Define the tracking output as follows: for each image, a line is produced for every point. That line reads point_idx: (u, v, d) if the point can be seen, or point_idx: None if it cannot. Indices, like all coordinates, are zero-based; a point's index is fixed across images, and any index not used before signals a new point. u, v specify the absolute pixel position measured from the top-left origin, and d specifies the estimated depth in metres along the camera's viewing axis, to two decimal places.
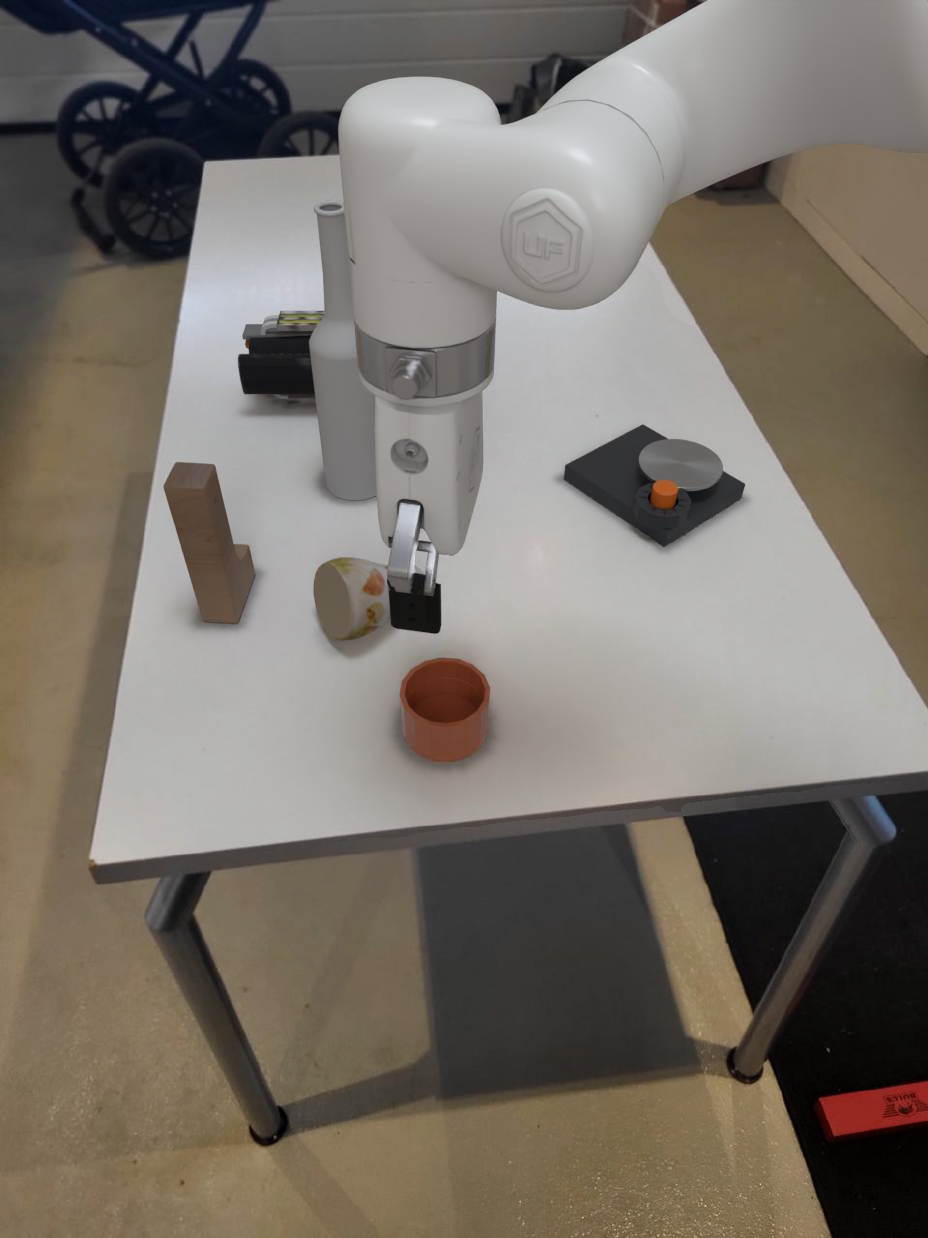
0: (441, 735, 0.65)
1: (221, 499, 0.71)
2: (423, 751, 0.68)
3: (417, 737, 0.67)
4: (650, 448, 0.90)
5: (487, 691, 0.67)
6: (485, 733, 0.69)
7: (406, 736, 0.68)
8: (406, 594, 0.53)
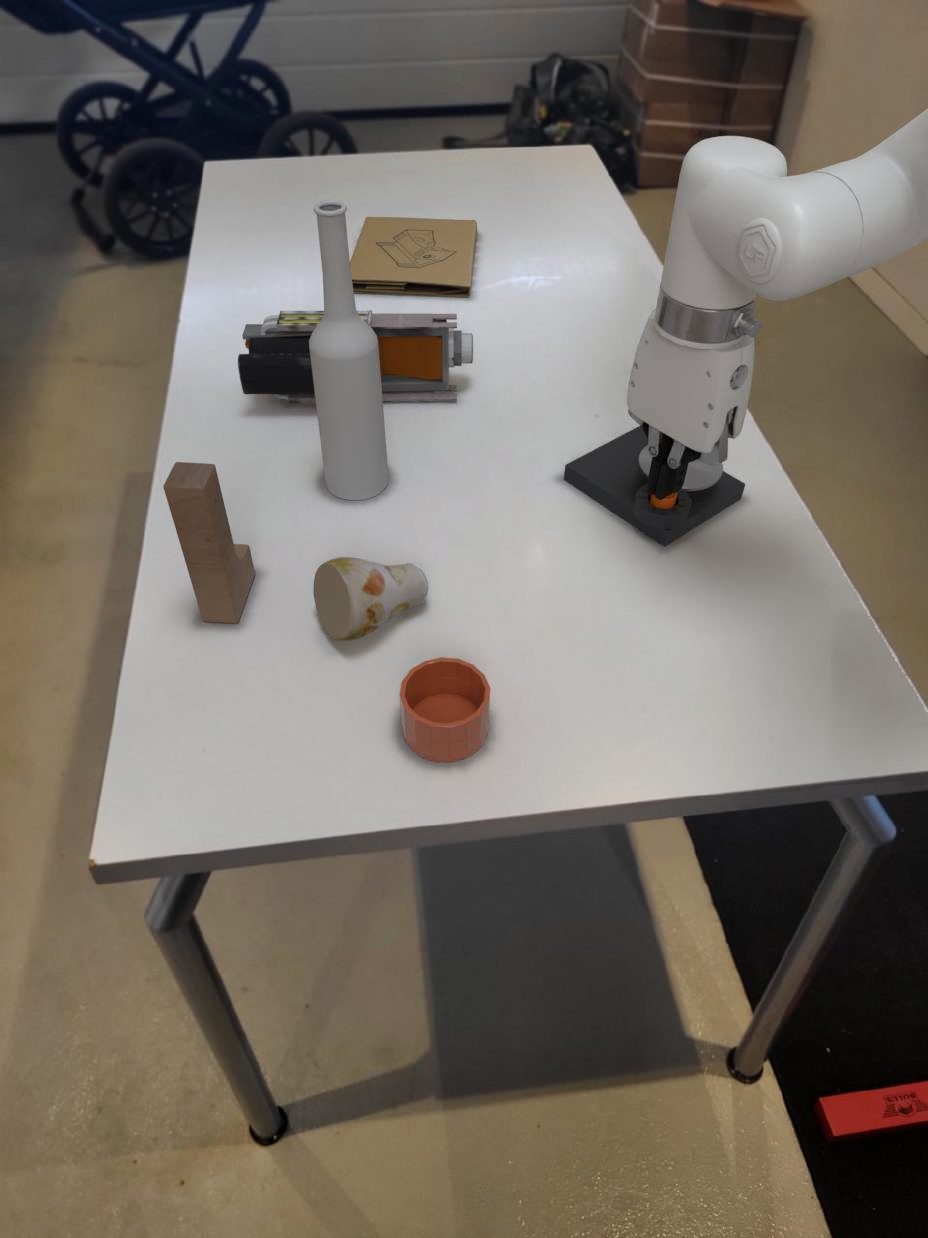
0: (441, 735, 0.65)
1: (221, 499, 0.71)
2: (423, 751, 0.68)
3: (417, 737, 0.67)
4: None
5: (487, 691, 0.67)
6: (485, 733, 0.69)
7: (406, 736, 0.68)
8: (681, 465, 0.81)
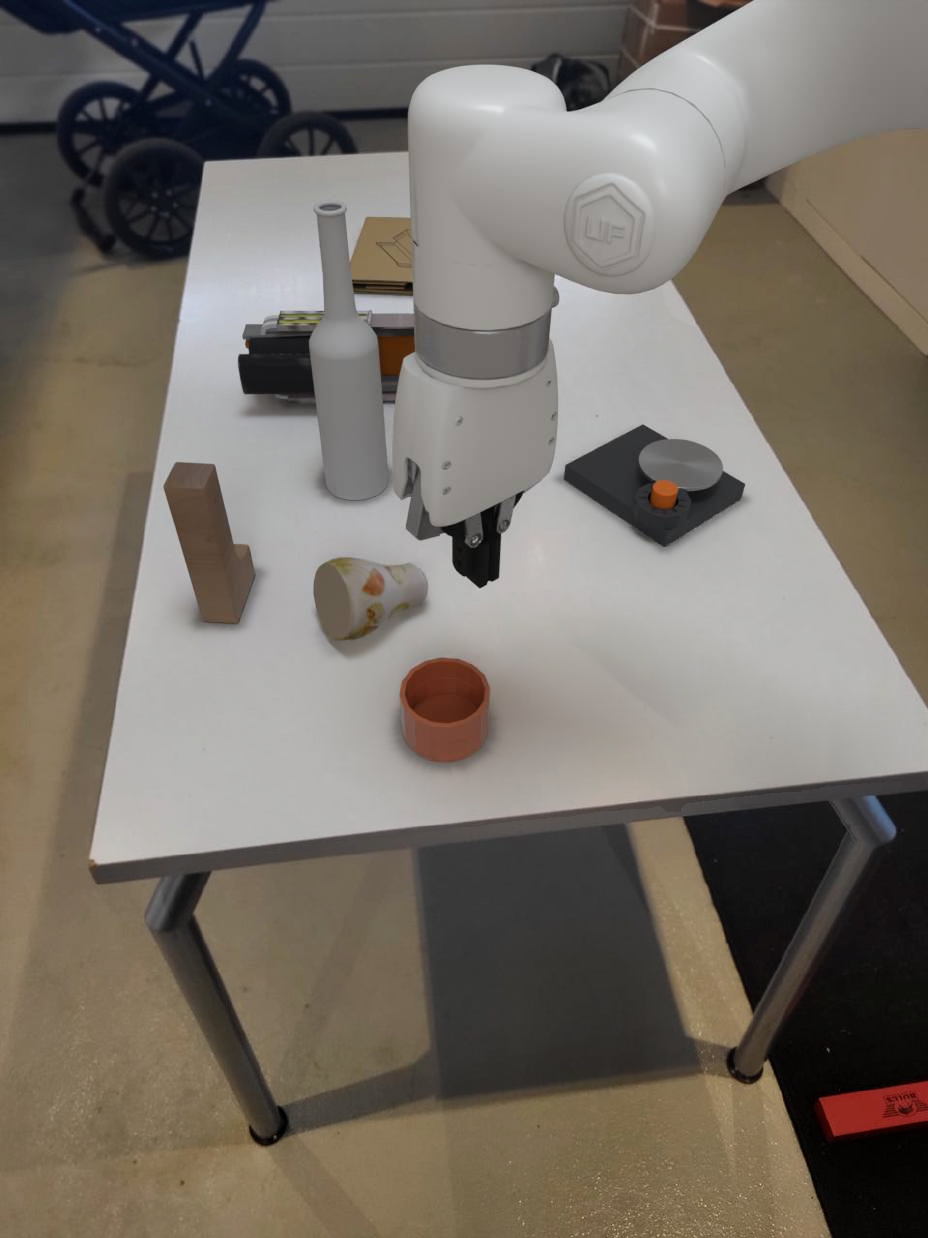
0: (441, 735, 0.65)
1: (221, 499, 0.71)
2: (423, 751, 0.68)
3: (417, 737, 0.67)
4: (650, 448, 0.90)
5: (487, 691, 0.67)
6: (485, 733, 0.69)
7: (406, 736, 0.68)
8: None
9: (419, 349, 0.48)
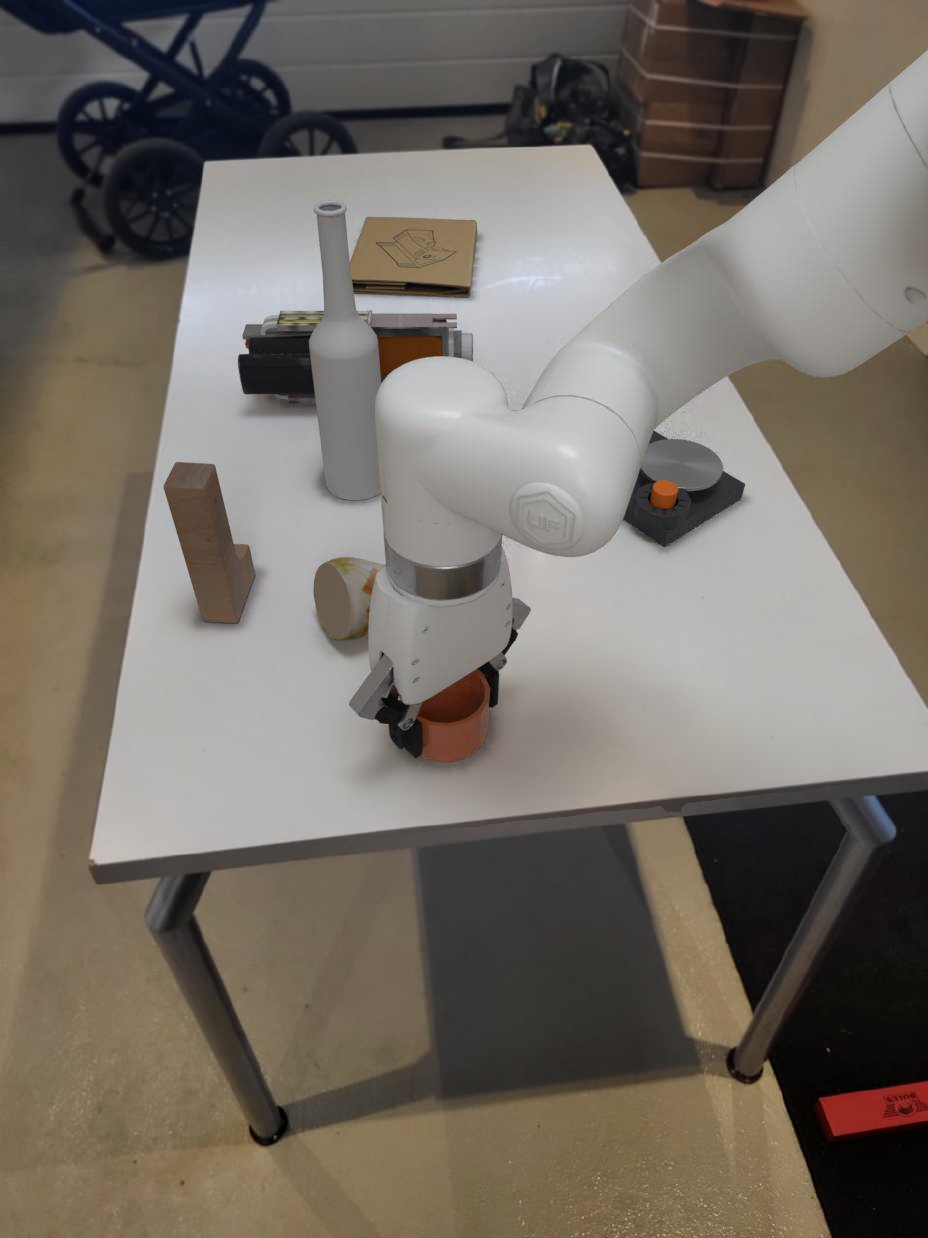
0: (441, 735, 0.65)
1: (221, 499, 0.71)
2: (423, 751, 0.68)
3: None
4: (650, 448, 0.90)
5: (487, 691, 0.67)
6: (485, 733, 0.69)
7: None
8: None
9: (389, 570, 0.56)
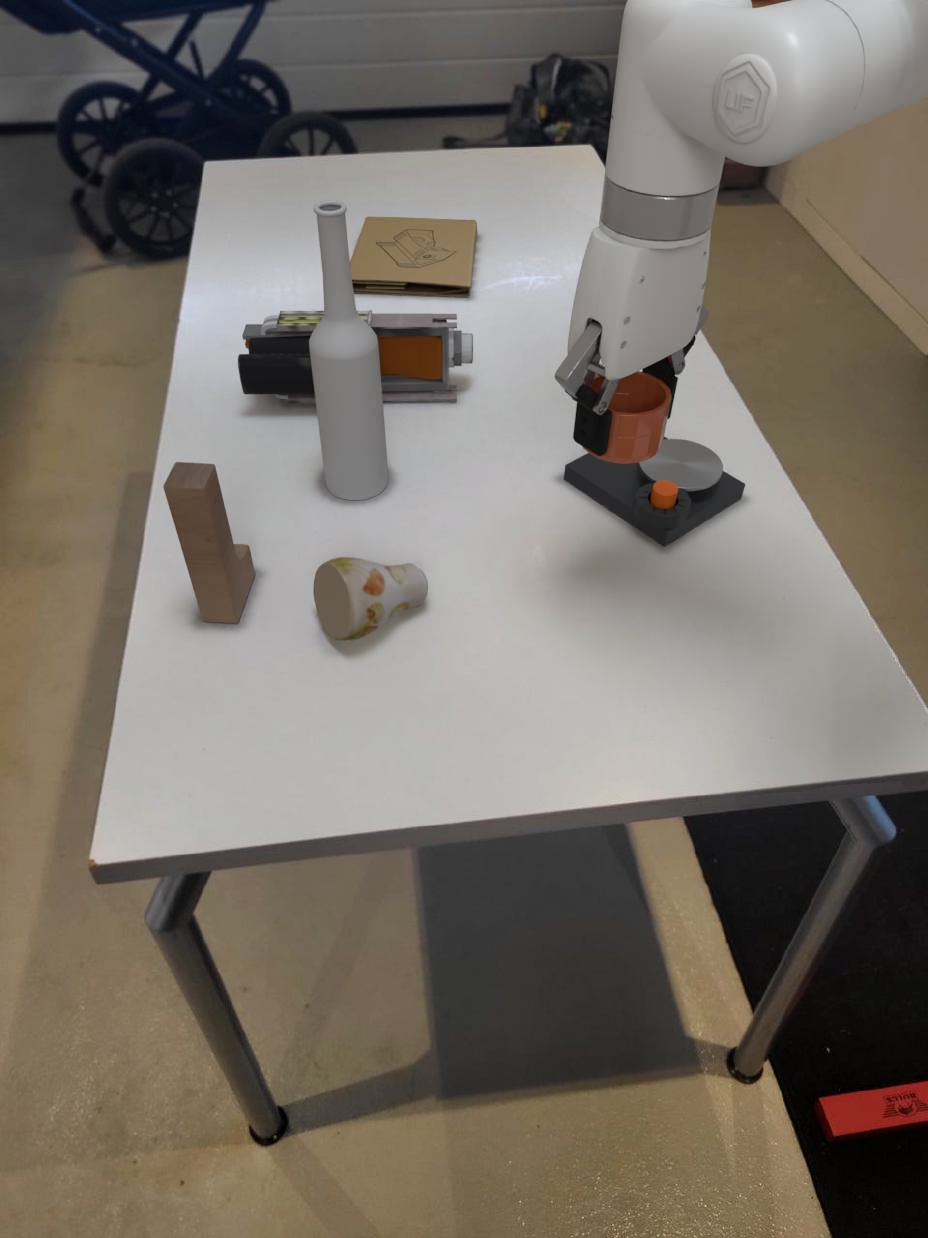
0: (629, 427, 0.68)
1: (221, 499, 0.71)
2: (606, 452, 0.70)
3: None
4: None
5: (668, 391, 0.70)
6: (662, 439, 0.71)
7: None
8: None
9: (609, 220, 0.59)
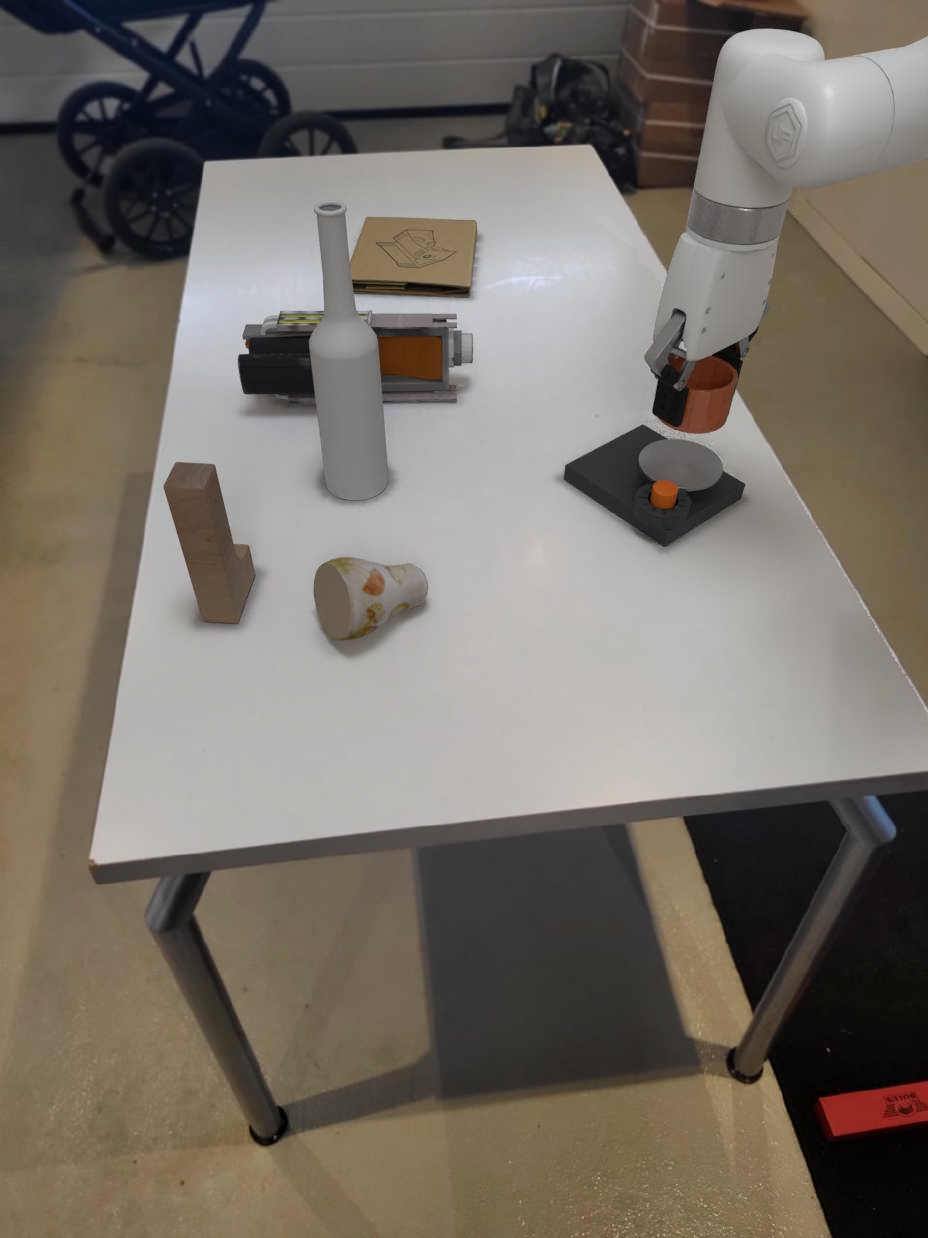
0: (702, 401, 0.80)
1: (221, 499, 0.71)
2: None
3: None
4: (650, 448, 0.90)
5: (735, 372, 0.82)
6: (728, 413, 0.83)
7: None
8: None
9: (696, 226, 0.70)
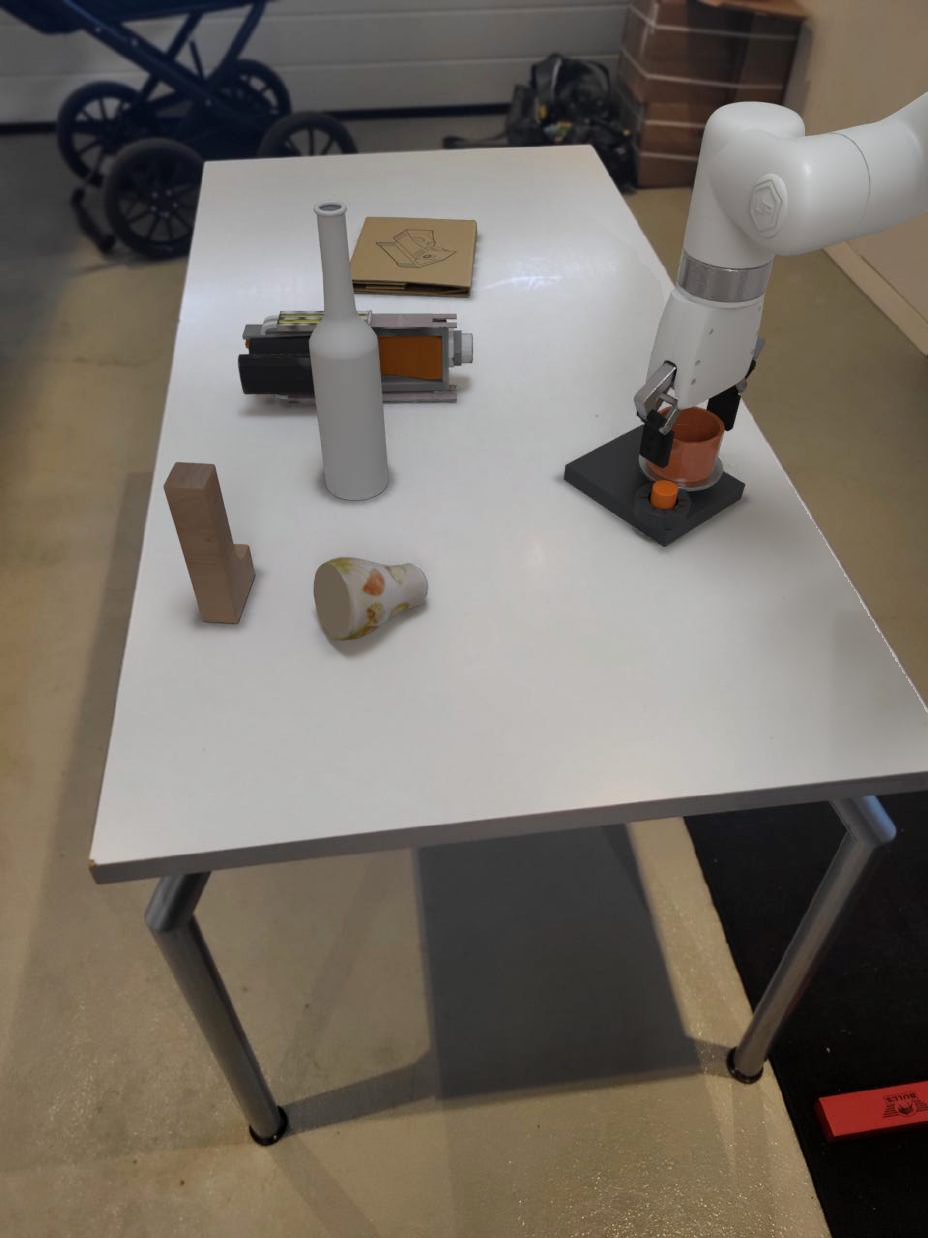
0: (690, 453, 0.84)
1: (221, 499, 0.71)
2: (670, 473, 0.86)
3: None
4: None
5: (721, 424, 0.86)
6: (715, 462, 0.87)
7: None
8: None
9: (686, 284, 0.74)
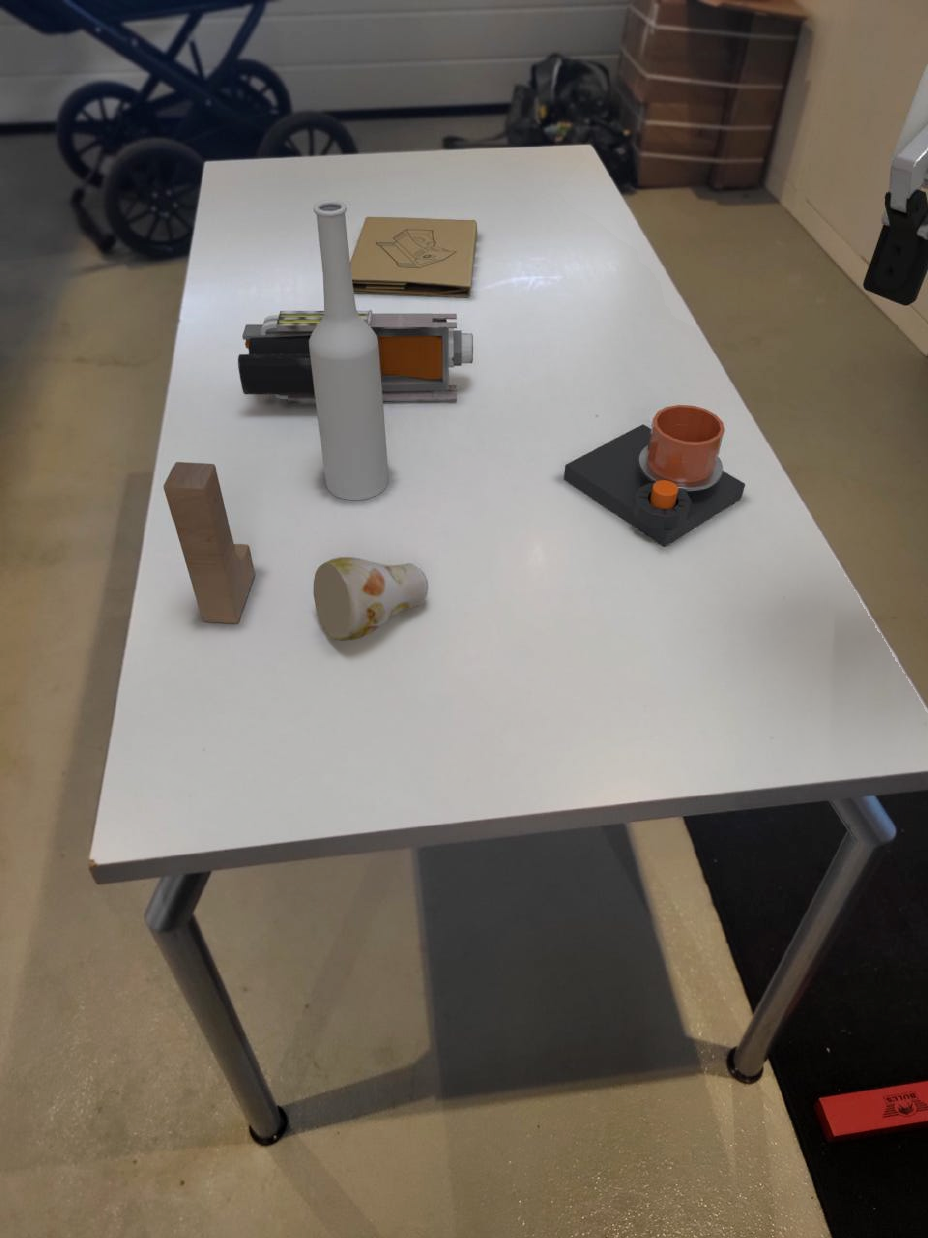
0: (690, 453, 0.84)
1: (221, 499, 0.71)
2: (670, 473, 0.86)
3: (668, 459, 0.85)
4: None
5: (721, 424, 0.86)
6: (715, 462, 0.87)
7: (654, 463, 0.87)
8: None
9: None
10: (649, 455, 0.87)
